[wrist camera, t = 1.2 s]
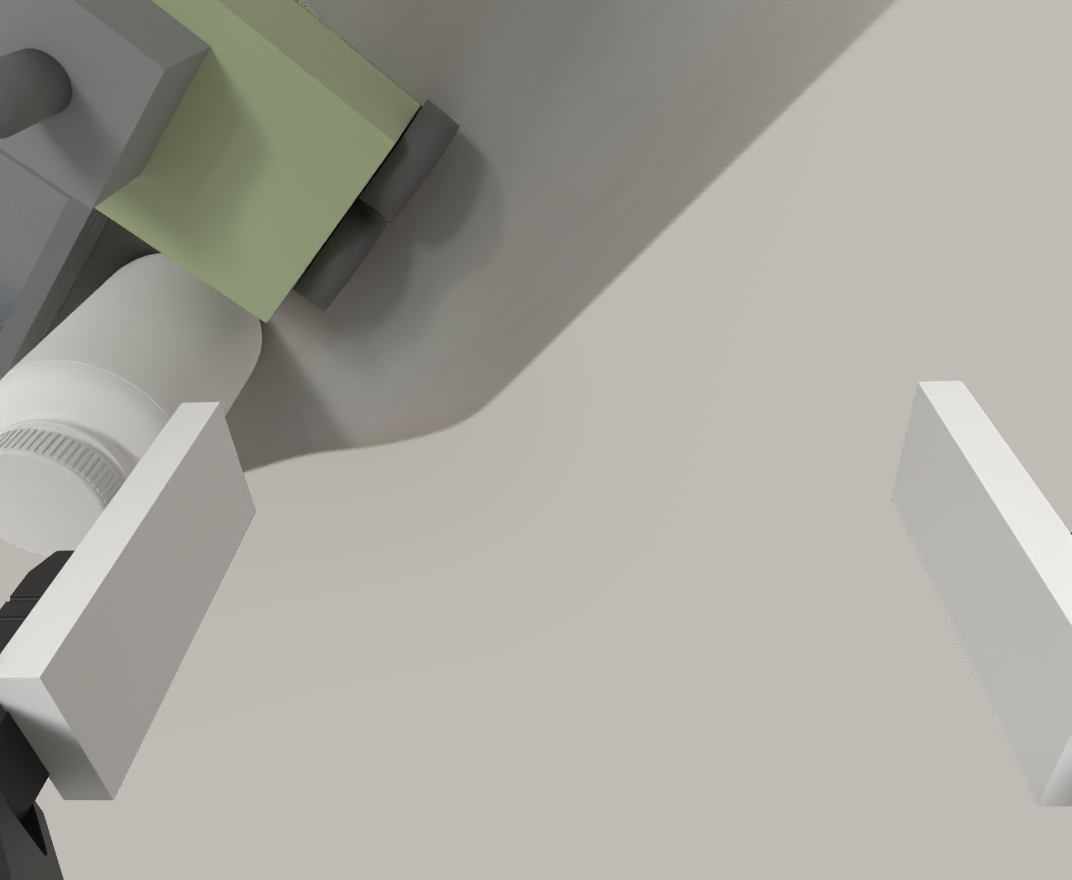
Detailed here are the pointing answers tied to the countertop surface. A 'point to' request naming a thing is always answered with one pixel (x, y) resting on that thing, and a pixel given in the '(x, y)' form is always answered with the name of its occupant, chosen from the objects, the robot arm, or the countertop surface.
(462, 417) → the countertop surface
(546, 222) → the countertop surface
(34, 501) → the pill bottle
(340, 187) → the green roller box
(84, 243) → the grey square tray
